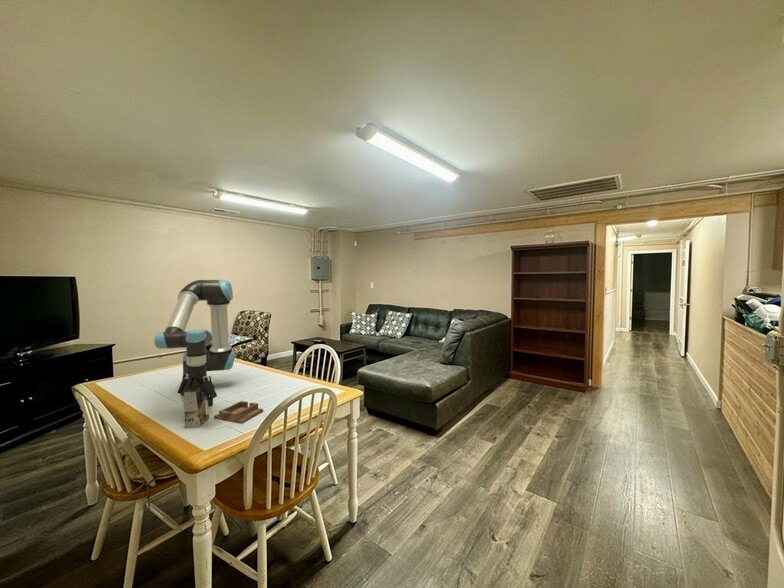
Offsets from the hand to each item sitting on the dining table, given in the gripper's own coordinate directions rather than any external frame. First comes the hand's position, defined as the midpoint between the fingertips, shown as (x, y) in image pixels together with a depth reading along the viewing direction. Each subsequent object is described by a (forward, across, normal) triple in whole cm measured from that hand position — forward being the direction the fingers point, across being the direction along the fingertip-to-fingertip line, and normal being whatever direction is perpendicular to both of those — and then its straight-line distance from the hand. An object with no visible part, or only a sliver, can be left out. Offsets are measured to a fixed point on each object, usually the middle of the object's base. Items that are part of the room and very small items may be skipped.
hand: (197, 411), depth 141 cm
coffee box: (+6, 0, 0) cm, 6 cm away
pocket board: (+6, +11, +13) cm, 18 cm away
